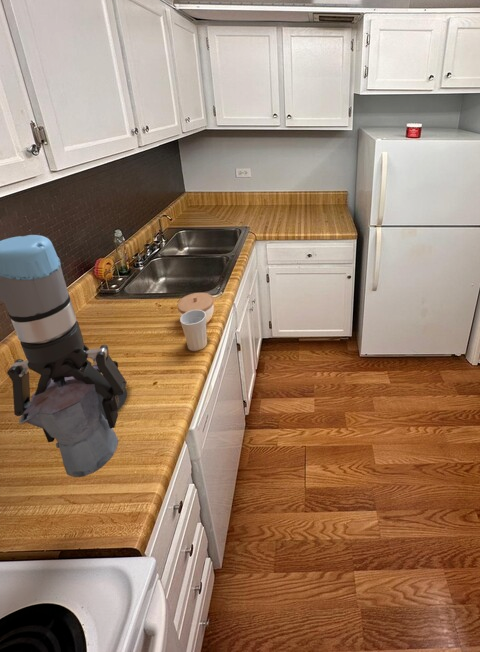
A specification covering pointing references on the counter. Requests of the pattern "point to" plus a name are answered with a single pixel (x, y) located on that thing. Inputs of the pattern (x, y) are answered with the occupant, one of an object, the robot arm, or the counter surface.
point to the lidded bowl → (197, 304)
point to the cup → (194, 329)
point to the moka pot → (74, 424)
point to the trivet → (121, 399)
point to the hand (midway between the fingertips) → (84, 428)
